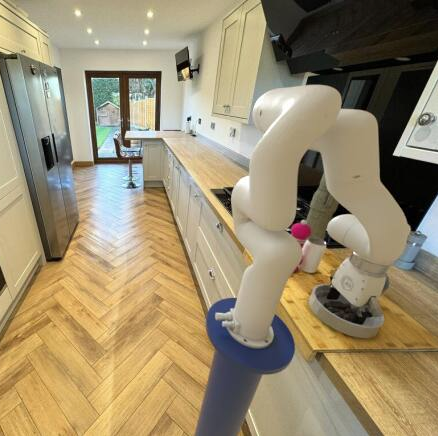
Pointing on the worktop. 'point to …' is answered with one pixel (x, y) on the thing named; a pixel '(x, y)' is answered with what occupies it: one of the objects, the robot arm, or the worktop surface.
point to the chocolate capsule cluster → (337, 305)
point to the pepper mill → (300, 234)
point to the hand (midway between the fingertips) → (342, 310)
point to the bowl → (337, 323)
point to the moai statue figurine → (321, 211)
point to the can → (312, 254)
